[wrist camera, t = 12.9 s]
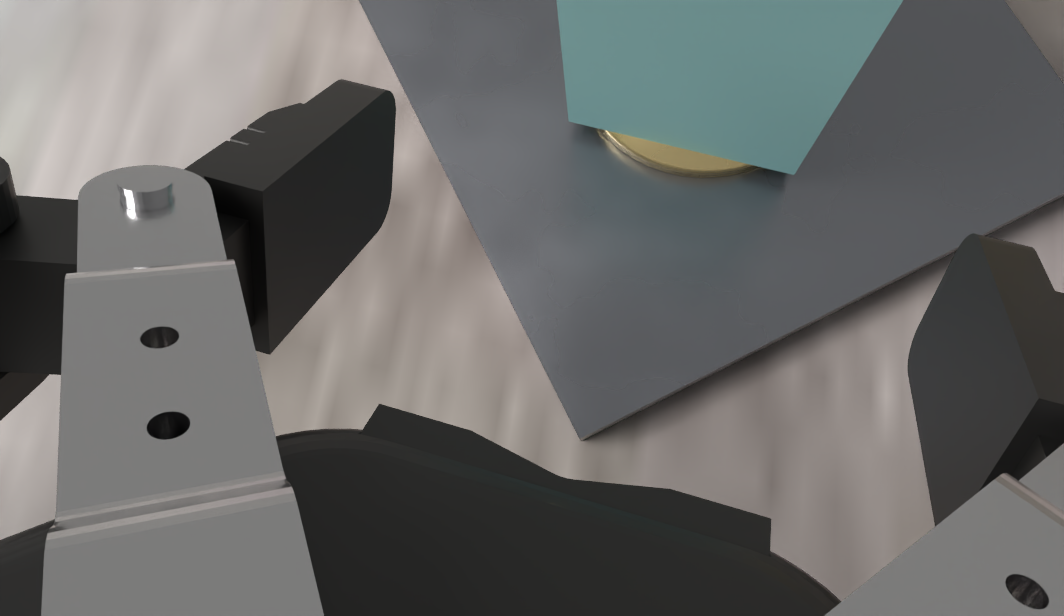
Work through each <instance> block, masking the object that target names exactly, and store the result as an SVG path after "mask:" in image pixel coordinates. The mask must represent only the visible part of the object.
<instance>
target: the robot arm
mask: <svg viewBox="0 0 1064 616" xmlns="http://www.w3.org/2000/svg"><path fill="white" fill-rule="evenodd" d="M395 116H396V106H395V99H394V96H393V94H392V93H391V92H390V91H388V90H384V89H380V88H375V87H371V86H367V85H363V84H359V83H355V82H351V81H346V80H342V79H341V80H338V81H336V82H335V83H333V84H332V85H331V86H329V87H328V88H326V89H325V90H324V91H322V92H321V93H319V94H318V95H317V96H315V97H314V98H312V99H311V100H309V101H308V102H307V103H305V104H302V103H298V104H295V105H291V106H288V107H284V108H281V109H277V110H274V111H270V112H268V113H266V114H265V115H263V116H262V117H260V118H259V119H257V120H256V121H254V122H253V123H252V124H250V125H249V126H248V128H247V130H246V129H243V130H241V131H240V132H238V133H237V134H235V135H234V136H232V137H231V139H230V142H229V141H225V142H224V143H222V144H221V145H219V146H218V147H216V148H215V149H213V150H212V151H210V152H209V153H207V154H206V155H204V156H203V157H201V158H200V159H198V160H197V161H196V162H194V163H193V164H191V165H190V166H188V167H187V168H185V169H180V168H175V167H168V166H157V165H143V166H132V167H126V168H120V169H116V170H112V171H109V172H106V173H103V174H101V175H99V176H97V177H95V178H93V179H91V180H90V181H88V182H87V183H86V184H85V185H84V186H83V187H82V189H81V190H80V192H79V196H78V200H69V199H56V198H43V197H30V196H17V195H16V193H15V188H14V184H13V180H12V175H11V171H10V168H9V165H8V163H7V162H6V161H5V160H4V159H3V158H1V157H0V421H1V420H2V419H3V418H4V417H5V416H6V415H7V414H8V413H9V412H10V411H11V410H12V409H13V408H15V407H16V406H17V405H18V404H19V403H20V402H21V401H22V400H23V399H24V398H25V397H26V396H28V395H29V394H30V393H31V392H32V391H33V390H34V389H35V388H36V387H37V386H38V385H39V384H41V383H42V382H43V381H44V380H45V378H46V377H47V376H48V375H49V374H57V375H61V393H60V420H59V447H58V475H57V502H56V516H55V519H54V520H52V521H49V522H46V523H44V524H41V525H39V526H36V527H33V528H31V529H28V530H26V531H23V532H20V533H18V534H15V535H13V536H10V537H7V538H5V539H2V540H0V616H1064V293H1060V292H1056V291H1055V290H1054V288H1053V286H1052V284H1051V282H1050V280H1049V278H1048V276H1047V274H1046V272H1045V269H1044V267H1043V265H1042V263H1041V261H1040V259H1039V257H1038V255H1037V253H1036V251H1035V249H1033V248H1032V247H1028V246H1024V245H1020V244H1016V243H1012V242H1008V241H1003V240H999V239H995V238H991V237H987V236H983V235H979V234H974V233H973V234H970V235H968V236H967V237H966V238H965V239H964V240H963V242H962V243H961V244H960V246H959V247H958V249H957V251H956V253H955V255H954V257H953V259H952V261H951V263H950V265H949V267H948V269H947V271H946V273H945V275H944V277H943V279H942V281H941V282H940V284H939V286H938V288H937V290H936V292H935V294H934V296H933V298H932V300H931V302H930V304H929V306H928V308H927V310H926V312H925V314H924V316H923V318H922V320H921V322H920V324H919V326H918V328H917V330H916V333H915V335H914V338H913V341H912V345H911V348H910V353H909V359H908V376H909V382H910V387H911V393H912V399H913V404H914V410H915V415H916V421H917V427H918V432H919V438H920V443H921V449H922V455H923V460H924V466H925V472H926V477H927V483H928V488H929V494H930V500H931V505H932V511H933V516H934V522H935V527H934V528H933V529H932V530H931V531H929V532H928V533H927V534H926V535H924V536H923V537H922V538H921V539H919V540H918V541H917V542H916V543H914V544H913V545H912V546H911V547H909V548H908V549H907V550H906V551H904V552H903V553H902V554H901V555H899V556H898V557H897V558H896V559H894V560H893V561H892V562H891V563H889V564H888V565H887V566H886V567H884V568H883V569H882V570H881V571H879V572H878V573H877V574H876V575H874V576H873V577H872V578H871V579H869V580H868V581H867V582H866V583H864V584H863V585H862V586H861V587H859V588H858V589H857V590H856V591H854V592H853V593H852V594H851V595H849V596H848V597H847V598H846V599H844V600H843V601H842V602H841V601H840V600H839V599H838V598H837V597H836V596H835V595H834V594H832V593H831V592H830V591H829V590H828V589H827V588H826V587H824V586H823V585H822V584H820V583H819V582H818V581H816V580H815V579H814V578H813V577H811V576H810V575H809V574H807V573H806V572H804V571H803V570H801V569H800V568H798V567H797V566H795V565H793V564H792V563H790V562H789V561H787V560H786V559H784V558H782V557H780V556H778V555H776V554H775V553H773V552H771V551H770V534H771V519H770V518H767V517H764V516H760V515H757V514H753V513H750V512H746V511H743V510H740V509H736V508H733V507H729V506H726V505H723V504H719V503H716V502H712V501H709V500H706V499H702V498H699V497H695V496H692V495H688V494H685V493H682V492H678V491H675V490H671V489H664V488H653V487H643V486H633V485H623V484H612V483H602V482H592V481H582V480H573V479H567V478H563V477H560V476H558V475H555V474H553V473H551V472H549V471H547V470H545V469H543V468H542V467H540V466H538V465H536V464H534V463H532V462H530V461H528V460H526V459H524V458H522V457H520V456H519V455H517V454H515V453H513V452H511V451H509V450H507V449H505V448H503V447H501V446H499V445H497V444H496V443H494V442H492V441H490V440H488V439H486V438H484V437H482V436H480V435H478V434H476V433H474V432H473V431H470V430H467V429H463V428H460V427H457V426H453V425H450V424H446V423H443V422H440V421H436V420H433V419H429V418H426V417H423V416H419V415H416V414H412V413H409V412H405V411H402V410H399V409H395V408H392V407H388V406H385V405H382V404H379V405H378V407H377V408H376V410H375V411H374V413H373V415H372V416H371V418H370V419H369V421H368V422H367V424H366V425H365V427H364V429H363V430H358V429H320V430H309V431H301V432H295V433H290V434H284V435H280V436H276V437H275V432H274V428H273V424H272V419H271V415H270V411H269V407H268V402H267V398H266V394H265V389H264V385H263V381H262V376H261V372H260V368H259V363H258V359H257V355H256V351H259V352H263V353H266V354H271V353H272V352H273V350H274V349H275V348H276V347H277V346H278V345H279V344H280V343H281V341H282V340H283V339H284V338H285V337H286V336H287V335H288V333H289V332H290V331H291V330H292V329H293V328H294V327H295V325H296V324H297V323H298V322H299V321H300V320H301V319H302V317H303V316H304V315H305V314H306V313H307V312H308V311H309V309H310V308H311V307H312V306H313V305H314V304H315V303H316V301H317V300H318V299H319V298H320V297H321V296H322V295H323V293H324V292H325V291H326V290H327V289H328V288H329V287H330V286H331V284H332V283H333V282H334V281H335V280H336V279H337V278H338V276H339V275H340V274H341V273H342V272H343V271H344V270H345V268H346V267H347V266H348V265H349V264H350V263H351V262H352V260H353V259H354V258H355V257H356V256H357V255H358V254H359V252H360V251H361V250H362V249H363V248H364V247H365V246H366V244H367V243H368V242H369V241H370V240H371V239H372V238H373V236H374V235H375V234H376V233H377V232H378V231H379V229H380V228H381V226H382V224H383V222H384V220H385V217H386V214H387V211H388V208H389V204H390V199H391V191H392V173H393V154H394V135H395Z"/></svg>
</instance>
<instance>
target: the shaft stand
mask: <svg viewBox="0 0 1064 616" xmlns="http://www.w3.org/2000/svg"><path fill="white" fill-rule="evenodd" d="M359 1H360V3H361V5H362V7H363V9H364V11H365V13H366V15H367V17H368V19H369V21H370V23H371V25H372V27H373V29H374V31H375V33H376V35H377V37H378V39H379V41H380V43H381V45H382V47H383V49H384V51H385V53H386V55H387V57H388V59H389V61H390V63H391V65H392V67H393V69H394V71H395V73H396V75H397V77H398V79H399V81H400V83H401V85H402V87H403V89H404V91H405V93H406V95H407V97H408V99H409V101H410V103H411V105H412V107H413V109H414V111H415V113H416V115H417V117H418V119H419V121H420V123H421V125H422V127H423V129H424V131H425V133H426V135H427V137H428V139H429V141H430V143H431V145H432V147H433V149H434V151H435V152H436V154H437V156H438V158H439V160H440V162H441V164H442V166H443V168H444V170H445V172H446V174H447V176H448V178H449V180H450V182H451V184H452V186H453V188H454V190H455V192H456V194H457V196H458V198H459V200H460V202H461V204H462V206H463V208H464V210H465V212H466V214H467V216H468V218H469V220H470V222H471V224H472V226H473V228H474V230H475V232H476V234H477V236H478V238H479V240H480V242H481V244H482V246H483V248H484V250H485V252H486V254H487V256H488V258H489V260H490V262H491V264H492V266H493V268H494V270H495V272H496V274H497V276H498V278H499V280H500V282H501V284H502V286H503V288H504V290H505V292H506V294H507V296H508V298H509V300H510V302H511V304H512V306H513V308H514V310H515V311H516V313H517V315H518V317H519V319H520V321H521V323H522V325H523V327H524V329H525V331H526V333H527V335H528V337H529V339H530V341H531V343H532V345H533V347H534V349H535V351H536V353H537V355H538V357H539V359H540V361H541V363H542V365H543V367H544V369H545V371H546V373H547V375H548V377H549V379H550V381H551V383H552V385H553V387H554V389H555V391H556V393H557V395H558V397H559V399H560V401H561V403H562V405H563V407H564V409H565V411H566V413H567V415H568V417H569V419H570V421H571V423H572V425H573V427H574V429H575V431H576V433H577V435H578V437H579V439H580V440H581V441H582V440H584V439H586V438H588V437H590V436H592V435H594V434H596V433H598V432H600V431H602V430H604V429H606V428H608V427H610V426H612V425H614V424H616V423H618V422H620V421H622V420H623V419H625V418H627V417H629V416H631V415H633V414H635V413H637V412H639V411H641V410H643V409H645V408H647V407H649V406H651V405H653V404H655V403H657V402H659V401H661V400H663V399H665V398H667V397H669V396H671V395H673V394H675V393H677V392H679V391H681V390H683V389H685V388H687V387H689V386H690V385H692V384H694V383H696V382H698V381H700V380H702V379H704V378H706V377H708V376H710V375H712V374H714V373H716V372H718V371H720V370H722V369H724V368H726V367H728V366H730V365H732V364H734V363H736V362H738V361H740V360H742V359H744V358H746V357H748V356H750V355H752V354H754V353H756V352H757V351H759V350H761V349H763V348H765V347H767V346H769V345H771V344H773V343H775V342H777V341H779V340H781V339H783V338H785V337H787V336H789V335H791V334H793V333H795V332H797V331H799V330H801V329H803V328H805V327H807V326H809V325H811V324H813V323H815V322H817V321H819V320H821V319H823V318H824V317H826V316H828V315H830V314H832V313H834V312H836V311H838V310H840V309H842V308H844V307H846V306H848V305H850V304H852V303H854V302H856V301H858V300H860V299H862V298H864V297H866V296H868V295H870V294H872V293H874V292H876V291H878V290H880V289H882V288H884V287H886V286H888V285H890V284H891V283H893V282H895V281H897V280H899V279H901V278H903V277H905V276H907V275H909V274H911V273H913V272H915V271H917V270H919V269H921V268H923V267H925V266H927V265H929V264H931V263H933V262H935V261H937V260H939V259H941V258H943V257H945V256H947V255H949V254H951V253H953V252H955V251H957V249H958V247H959V246H960V244H961V243H962V242H963V240H964V239H965V238H966V237H967V236H968V235H970V234H973V233H974V234H979V235H983V236H986V235H988V234H990V233H992V232H994V231H996V230H998V229H1000V228H1002V227H1004V226H1006V225H1008V224H1010V223H1012V222H1014V221H1016V220H1018V219H1020V218H1022V217H1023V216H1025V215H1027V214H1029V213H1031V212H1033V211H1035V210H1037V209H1039V208H1041V207H1043V206H1045V205H1047V204H1049V203H1051V202H1053V201H1055V200H1057V199H1059V198H1061V197H1063V196H1064V84H1063V83H1062V81H1061V80H1060V78H1059V77H1058V76H1057V74H1056V73H1055V71H1054V70H1053V68H1052V67H1051V66H1050V64H1049V63H1048V61H1047V60H1046V59H1045V57H1044V56H1043V54H1042V53H1041V51H1040V50H1039V49H1038V47H1037V46H1036V44H1035V43H1034V42H1033V40H1032V39H1031V37H1030V36H1029V34H1028V33H1027V32H1026V30H1025V29H1024V27H1023V26H1022V25H1021V23H1020V22H1019V20H1018V19H1017V17H1016V16H1015V15H1014V13H1013V12H1012V10H1011V9H1010V8H1009V6H1008V5H1007V3H1006V2H1005V0H903V2H902V3H901V5H900V6H899V8H898V10H897V11H896V13H895V14H894V16H893V18H892V19H891V21H890V22H889V24H888V26H887V27H886V29H885V30H884V32H883V34H882V35H881V37H880V38H879V40H878V42H877V43H876V45H875V46H874V48H873V49H872V51H871V53H870V54H869V56H868V57H867V59H866V61H865V62H864V64H863V65H862V67H861V69H860V70H859V72H858V73H857V75H856V77H855V78H854V80H853V81H852V83H851V85H850V86H849V88H848V89H847V91H846V93H845V94H844V96H843V97H842V99H841V101H840V102H839V104H838V105H837V107H836V109H835V110H834V112H833V113H832V115H831V117H830V118H829V120H828V121H827V123H826V125H825V126H824V128H823V129H822V131H821V133H820V134H819V136H818V137H817V139H816V141H815V142H814V144H813V145H812V147H811V149H810V150H809V152H808V153H807V155H806V157H805V158H804V160H803V161H802V163H801V165H800V166H799V168H798V169H797V171H796V173H795V174H794V175H792V174H788V173H783V172H779V171H775V170H771V169H767V168H762V167H758V166H754V165H750V164H746V163H741V162H737V161H733V160H729V159H725V158H720V157H716V156H712V155H708V154H704V153H699V152H695V151H691V150H687V149H682V148H678V147H674V146H670V145H666V144H661V143H657V142H653V141H649V140H645V139H640V138H636V137H632V136H628V135H624V134H619V133H615V132H611V131H607V130H603V129H598V128H594V127H590V126H586V125H581V124H577V123H573V122H569V120H568V110H567V100H566V90H565V80H564V70H563V60H562V50H561V40H560V30H559V20H558V10H557V0H359Z"/></svg>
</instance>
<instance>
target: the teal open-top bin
mask: <svg viewBox="0 0 1064 616" xmlns="http://www.w3.org/2000/svg"><path fill="white" fill-rule="evenodd" d="M902 2H903V0H557V10H558V20H559V30H560V40H561V50H562V60H563V70H564V80H565V90H566V100H567V110H568V120H569V122H573V123H577V124H581V125H586V126H590V127H594V128H598V129H603V130H607V131H611V132H615V133H619V134H624V135H628V136H632V137H636V138H640V139H645V140H649V141H653V142H657V143H661V144H666V145H670V146H674V147H678V148H682V149H687V150H691V151H695V152H699V153H704V154H708V155H712V156H716V157H720V158H725V159H729V160H733V161H737V162H741V163H746V164H750V165H754V166H758V167H762V168H767V169H771V170H775V171H779V172H783V173H788V174H792V175H794V174H795V173H796V171H797V169H798V168H799V166H800V165H801V163H802V161H803V160H804V158H805V157H806V155H807V153H808V152H809V150H810V149H811V147H812V145H813V144H814V142H815V141H816V139H817V137H818V136H819V134H820V133H821V131H822V129H823V128H824V126H825V125H826V123H827V121H828V120H829V118H830V117H831V115H832V113H833V112H834V110H835V109H836V107H837V105H838V104H839V102H840V101H841V99H842V97H843V96H844V94H845V93H846V91H847V89H848V88H849V86H850V85H851V83H852V81H853V80H854V78H855V77H856V75H857V73H858V72H859V70H860V69H861V67H862V65H863V64H864V62H865V61H866V59H867V57H868V56H869V54H870V53H871V51H872V49H873V48H874V46H875V45H876V43H877V42H878V40H879V38H880V37H881V35H882V34H883V32H884V30H885V29H886V27H887V26H888V24H889V22H890V21H891V19H892V18H893V16H894V14H895V13H896V11H897V10H898V8H899V6H900V5H901V3H902Z"/></svg>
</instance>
